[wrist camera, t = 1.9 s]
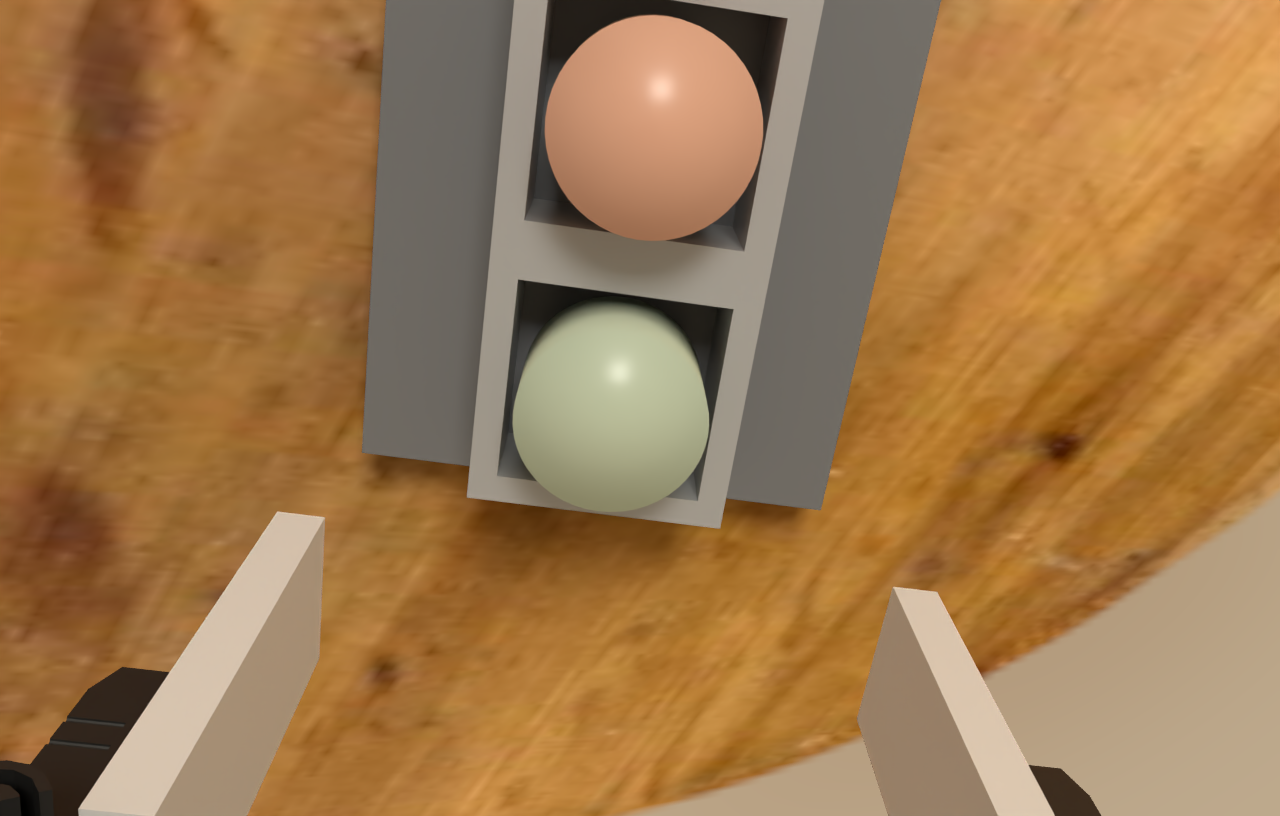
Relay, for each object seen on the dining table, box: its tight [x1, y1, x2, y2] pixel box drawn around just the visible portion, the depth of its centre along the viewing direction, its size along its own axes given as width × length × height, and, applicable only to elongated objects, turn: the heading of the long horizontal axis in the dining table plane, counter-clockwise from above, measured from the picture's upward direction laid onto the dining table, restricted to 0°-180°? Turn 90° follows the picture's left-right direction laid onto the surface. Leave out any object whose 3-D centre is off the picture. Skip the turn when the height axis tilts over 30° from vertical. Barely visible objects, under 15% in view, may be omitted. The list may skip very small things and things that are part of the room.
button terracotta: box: [545, 14, 763, 241], centre depth 24 cm, size 5×5×3 cm
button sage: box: [513, 296, 709, 512], centre depth 27 cm, size 5×5×3 cm
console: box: [362, 0, 941, 529], centre depth 27 cm, size 22×14×5 cm, turn 172°
